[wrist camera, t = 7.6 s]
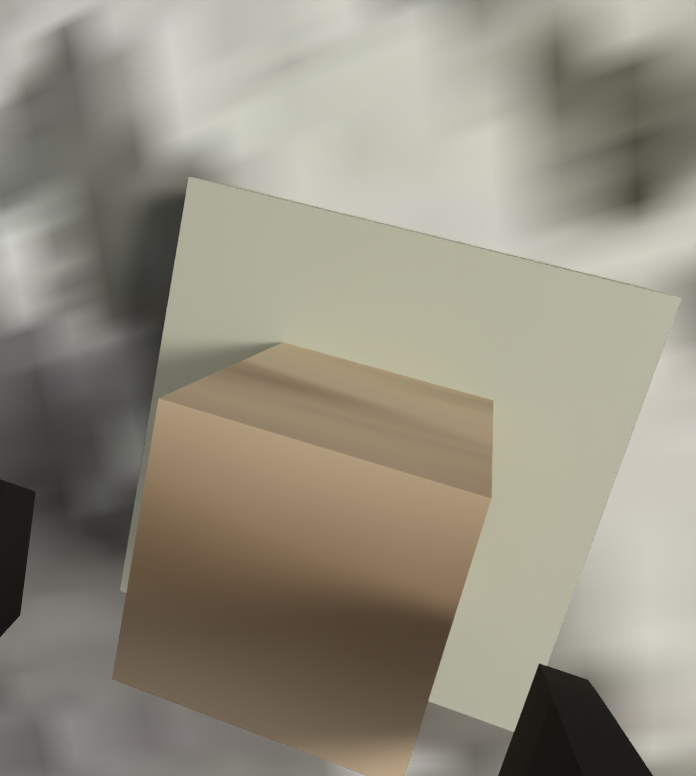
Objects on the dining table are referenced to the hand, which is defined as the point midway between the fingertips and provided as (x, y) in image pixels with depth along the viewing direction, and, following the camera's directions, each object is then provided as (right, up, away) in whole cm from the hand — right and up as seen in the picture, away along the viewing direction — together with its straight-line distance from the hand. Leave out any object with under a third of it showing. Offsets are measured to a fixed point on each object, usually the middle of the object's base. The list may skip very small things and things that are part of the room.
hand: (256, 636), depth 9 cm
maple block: (+2, +1, +7) cm, 7 cm away
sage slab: (+2, +2, +10) cm, 10 cm away
